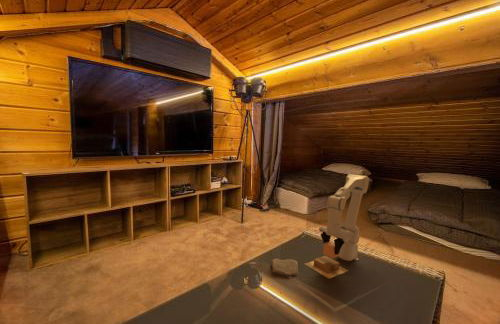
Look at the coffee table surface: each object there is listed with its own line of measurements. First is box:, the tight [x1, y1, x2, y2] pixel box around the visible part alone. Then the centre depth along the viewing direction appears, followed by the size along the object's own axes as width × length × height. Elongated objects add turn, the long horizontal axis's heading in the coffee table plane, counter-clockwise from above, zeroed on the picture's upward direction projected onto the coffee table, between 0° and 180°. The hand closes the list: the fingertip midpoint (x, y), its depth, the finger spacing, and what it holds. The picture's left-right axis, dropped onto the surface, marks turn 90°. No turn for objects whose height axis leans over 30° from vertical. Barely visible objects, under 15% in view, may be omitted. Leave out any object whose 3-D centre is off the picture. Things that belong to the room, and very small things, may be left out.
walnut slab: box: [313, 255, 340, 274], centre depth 109 cm, size 8×8×3 cm
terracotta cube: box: [322, 240, 340, 259], centre depth 107 cm, size 5×5×5 cm
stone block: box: [271, 258, 299, 278], centre depth 105 cm, size 12×5×10 cm
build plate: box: [304, 260, 349, 280], centre depth 109 cm, size 14×14×1 cm
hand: (331, 251), depth 107 cm, fingers closed on terracotta cube, 5 cm apart
